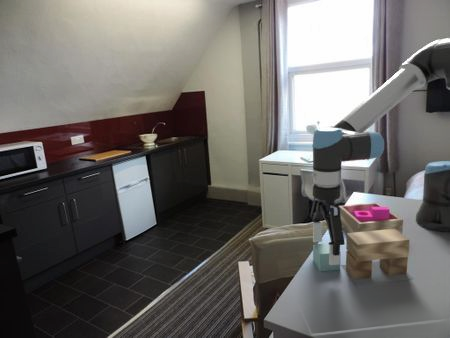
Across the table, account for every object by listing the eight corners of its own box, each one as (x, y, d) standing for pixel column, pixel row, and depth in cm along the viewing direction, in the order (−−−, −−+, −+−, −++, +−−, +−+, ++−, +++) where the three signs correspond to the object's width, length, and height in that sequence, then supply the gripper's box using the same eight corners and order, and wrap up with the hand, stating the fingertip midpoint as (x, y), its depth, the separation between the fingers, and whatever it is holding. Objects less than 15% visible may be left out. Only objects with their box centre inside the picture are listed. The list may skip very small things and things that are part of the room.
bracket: (387, 237, 110) (389, 209, 108) (356, 236, 112) (356, 209, 110) (378, 223, 122) (380, 197, 119) (350, 222, 124) (350, 197, 121)
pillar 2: (396, 264, 94) (397, 245, 93) (406, 273, 89) (408, 254, 88) (379, 266, 94) (380, 247, 92) (389, 275, 89) (390, 256, 87)
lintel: (393, 244, 93) (394, 228, 92) (408, 256, 87) (409, 239, 85) (346, 249, 93) (346, 233, 92) (357, 261, 86) (357, 244, 85)
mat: (392, 260, 97) (392, 259, 96) (413, 280, 87) (414, 278, 87) (340, 266, 96) (340, 265, 96) (356, 286, 86) (356, 285, 86)
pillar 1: (362, 267, 94) (363, 249, 92) (371, 277, 89) (372, 258, 87) (345, 269, 93) (346, 250, 92) (353, 279, 89) (354, 259, 87)
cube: (332, 260, 100) (332, 242, 98) (340, 270, 94) (340, 252, 92) (313, 262, 99) (313, 244, 98) (320, 272, 94) (320, 254, 92)
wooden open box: (375, 219, 126) (376, 202, 124) (401, 238, 109) (403, 219, 107) (338, 222, 125) (338, 205, 123) (358, 243, 108) (359, 223, 107)
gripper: (300, 173, 102) (300, 234, 107) (330, 199, 78) (328, 276, 83) (323, 171, 103) (322, 232, 108) (360, 197, 78) (357, 274, 84)
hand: (325, 252), depth 95 cm, fingers open, 13 cm apart
